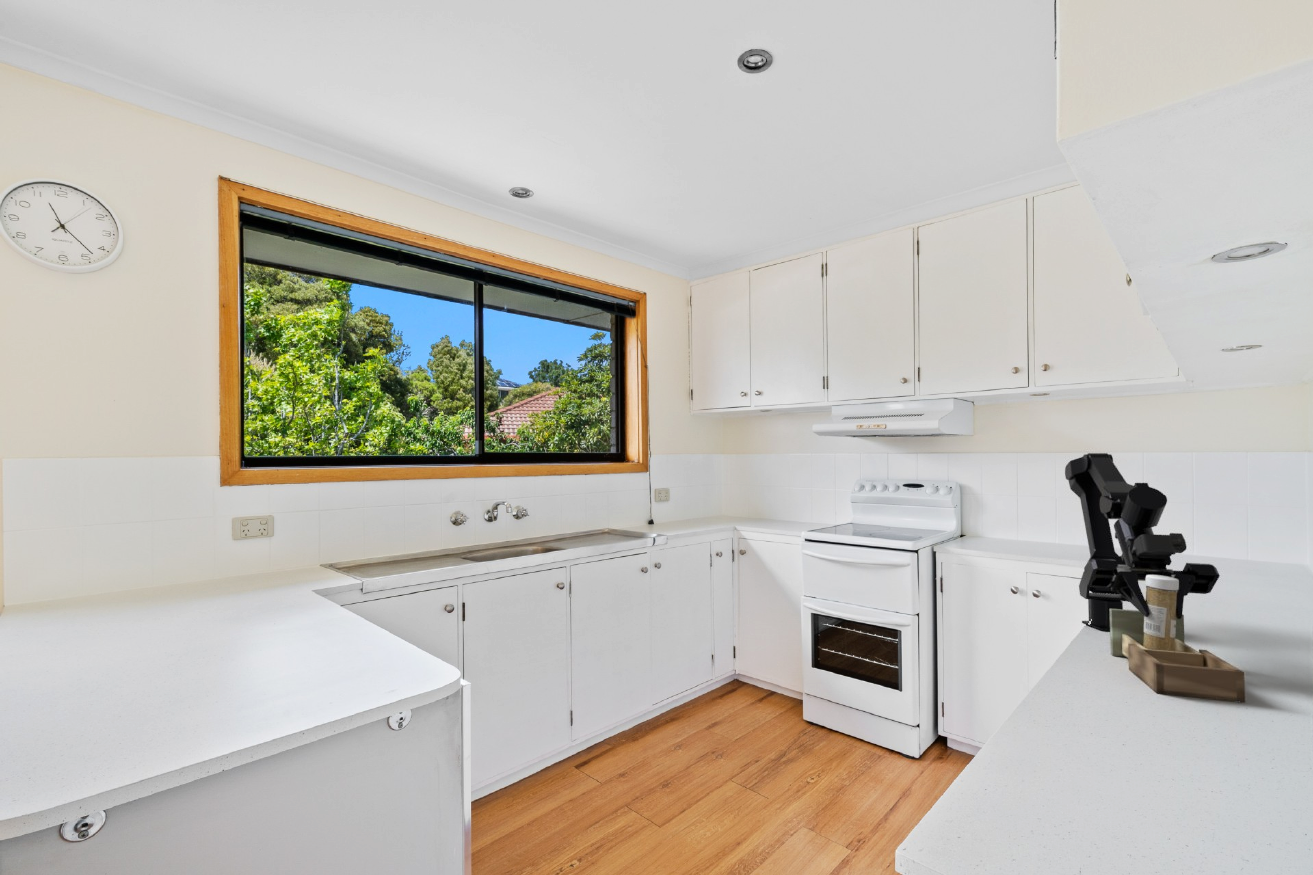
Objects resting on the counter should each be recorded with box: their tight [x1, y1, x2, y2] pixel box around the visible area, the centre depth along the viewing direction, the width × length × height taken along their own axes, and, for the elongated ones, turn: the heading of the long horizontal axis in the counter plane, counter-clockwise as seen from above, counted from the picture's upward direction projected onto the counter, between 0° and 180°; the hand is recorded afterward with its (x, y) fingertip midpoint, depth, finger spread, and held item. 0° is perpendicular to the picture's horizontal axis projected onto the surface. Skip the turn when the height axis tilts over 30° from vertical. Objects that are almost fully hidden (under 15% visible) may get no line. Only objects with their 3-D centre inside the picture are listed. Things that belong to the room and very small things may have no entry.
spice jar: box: [1143, 575, 1179, 651], centre depth 111 cm, size 5×5×13 cm
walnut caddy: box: [1128, 644, 1246, 703], centre depth 103 cm, size 12×11×4 cm
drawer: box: [1109, 608, 1204, 667], centre depth 112 cm, size 12×11×8 cm
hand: (1163, 616), depth 110 cm, fingers closed on spice jar, 4 cm apart
